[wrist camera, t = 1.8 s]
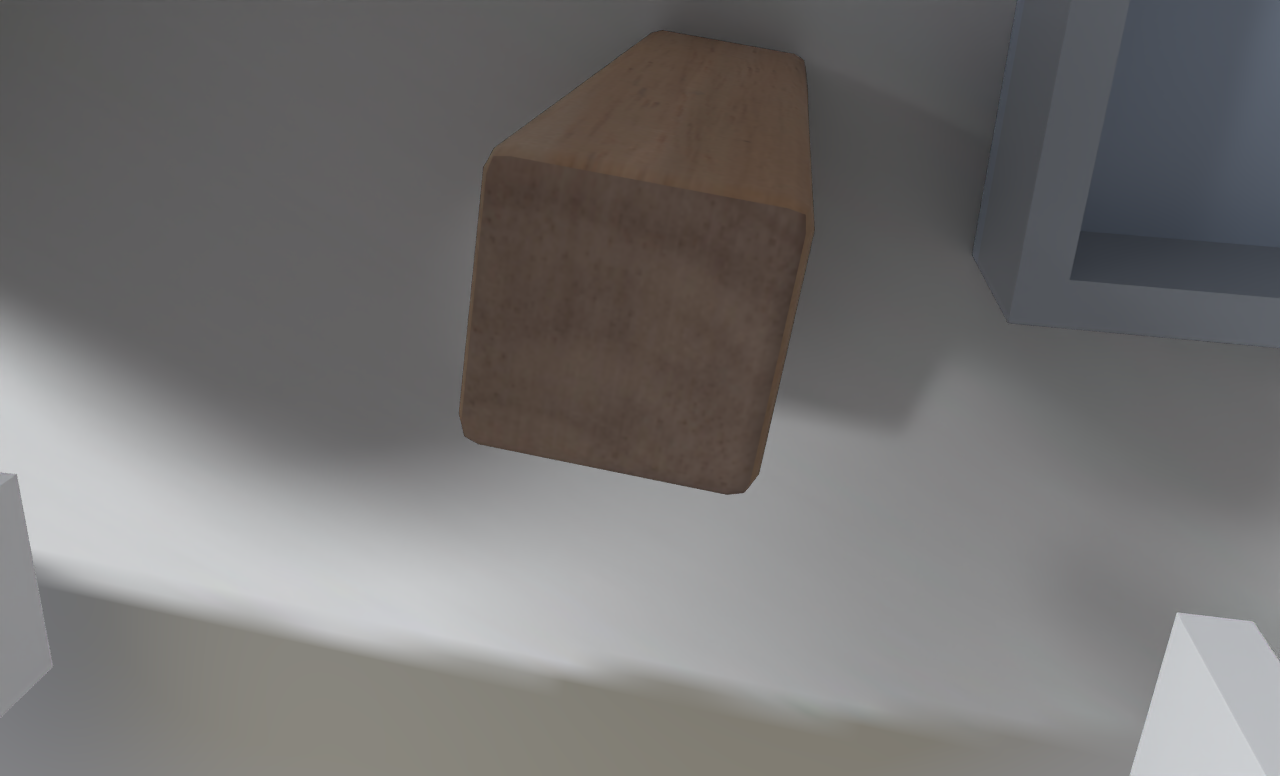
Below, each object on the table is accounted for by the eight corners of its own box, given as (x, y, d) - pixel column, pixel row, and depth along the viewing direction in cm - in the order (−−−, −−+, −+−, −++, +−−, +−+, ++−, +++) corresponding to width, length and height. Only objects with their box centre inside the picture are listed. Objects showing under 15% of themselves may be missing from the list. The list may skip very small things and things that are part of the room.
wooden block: (745, 352, 34) (697, 752, 18) (604, 325, 34) (424, 692, 18) (809, 54, 30) (821, 207, 14) (649, 26, 31) (477, 142, 14)
